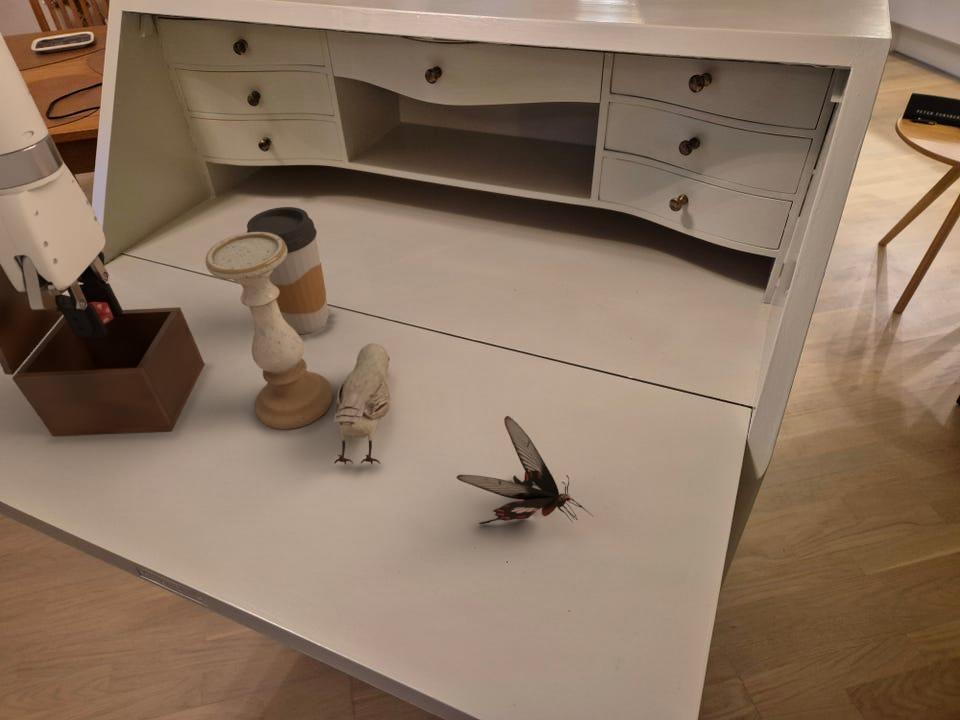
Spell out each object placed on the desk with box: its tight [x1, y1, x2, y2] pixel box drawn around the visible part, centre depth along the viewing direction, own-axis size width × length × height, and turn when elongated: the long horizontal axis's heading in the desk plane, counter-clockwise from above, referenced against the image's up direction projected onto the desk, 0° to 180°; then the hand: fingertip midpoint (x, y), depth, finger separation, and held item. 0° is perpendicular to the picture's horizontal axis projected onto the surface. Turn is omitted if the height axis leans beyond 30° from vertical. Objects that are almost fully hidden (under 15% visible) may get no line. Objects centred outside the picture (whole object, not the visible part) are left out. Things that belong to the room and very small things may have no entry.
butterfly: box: [456, 415, 595, 525], centre depth 58 cm, size 11×8×10 cm
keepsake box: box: [11, 306, 205, 437], centre depth 73 cm, size 14×12×9 cm
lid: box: [0, 264, 64, 376], centre depth 65 cm, size 14×12×1 cm
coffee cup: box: [246, 206, 330, 335], centre depth 81 cm, size 8×8×15 cm
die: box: [89, 302, 114, 325], centre depth 68 cm, size 3×3×3 cm
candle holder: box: [204, 232, 334, 430], centre depth 67 cm, size 9×9×20 cm
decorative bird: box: [332, 342, 391, 466], centre depth 69 cm, size 5×16×8 cm, turn 178°
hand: (100, 324), depth 69 cm, fingers closed on die, 3 cm apart
